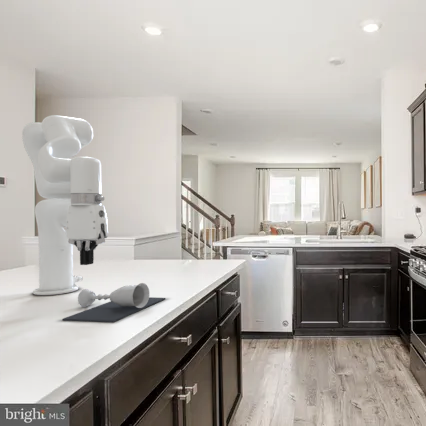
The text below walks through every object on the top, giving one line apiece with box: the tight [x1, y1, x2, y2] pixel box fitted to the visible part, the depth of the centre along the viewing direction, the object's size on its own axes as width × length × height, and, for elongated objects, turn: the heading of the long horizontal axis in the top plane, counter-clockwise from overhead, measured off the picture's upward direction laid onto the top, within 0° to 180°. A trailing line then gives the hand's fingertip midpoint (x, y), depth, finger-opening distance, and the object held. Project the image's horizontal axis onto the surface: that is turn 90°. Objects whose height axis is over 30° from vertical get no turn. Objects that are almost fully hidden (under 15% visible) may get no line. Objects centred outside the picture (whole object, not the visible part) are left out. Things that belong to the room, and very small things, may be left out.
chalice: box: [77, 282, 150, 308], centre depth 105 cm, size 7×7×18 cm
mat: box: [62, 297, 166, 323], centre depth 105 cm, size 24×14×1 cm, turn 173°
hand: (86, 264), depth 107 cm, fingers closed
